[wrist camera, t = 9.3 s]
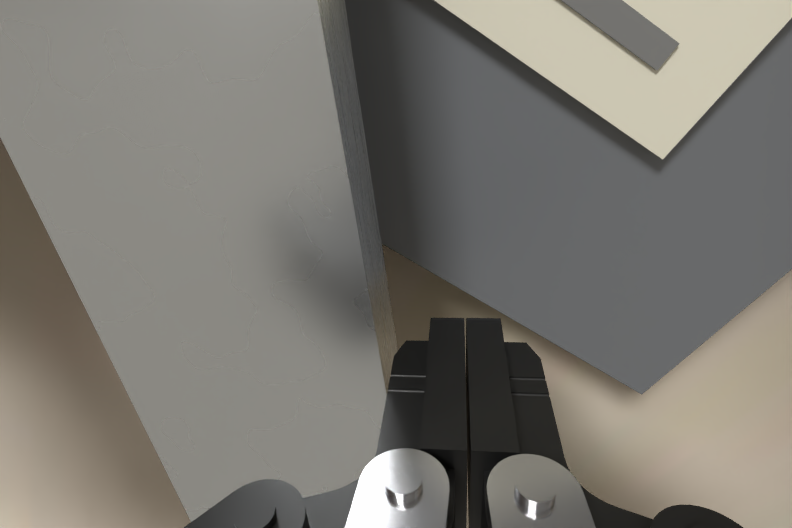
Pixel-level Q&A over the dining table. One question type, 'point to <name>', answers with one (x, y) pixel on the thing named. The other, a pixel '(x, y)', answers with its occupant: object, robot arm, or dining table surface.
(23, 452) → the dining table surface
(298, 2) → the swing arm
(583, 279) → the label board
